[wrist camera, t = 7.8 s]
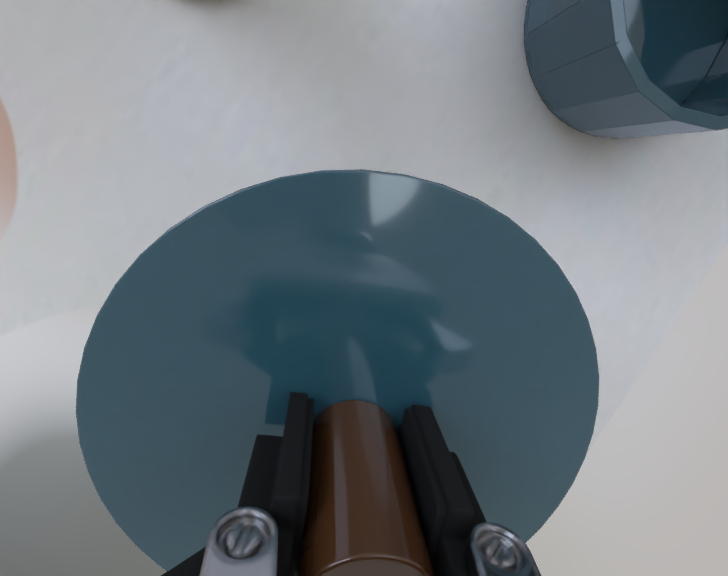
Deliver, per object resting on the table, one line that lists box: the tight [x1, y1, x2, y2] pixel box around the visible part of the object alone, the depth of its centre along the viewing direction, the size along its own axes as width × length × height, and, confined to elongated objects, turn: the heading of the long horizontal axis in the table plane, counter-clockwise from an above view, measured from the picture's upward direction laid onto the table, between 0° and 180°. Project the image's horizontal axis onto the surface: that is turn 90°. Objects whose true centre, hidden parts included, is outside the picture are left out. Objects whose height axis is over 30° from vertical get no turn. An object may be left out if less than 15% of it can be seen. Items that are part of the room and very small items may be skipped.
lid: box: [76, 169, 599, 576], centre depth 10 cm, size 16×16×6 cm
